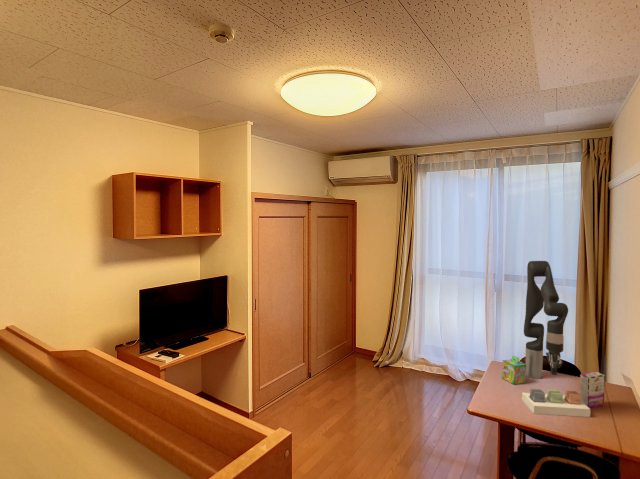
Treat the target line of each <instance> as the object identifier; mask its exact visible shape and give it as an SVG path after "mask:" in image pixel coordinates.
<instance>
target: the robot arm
mask: <svg viewBox="0 0 640 479" xmlns="http://www.w3.org/2000/svg"><path fill="white" fill-rule="evenodd" d="M526 270H527V271H526V273H527V274H526V275H527V276H526V278H527V279H526V280H527V287H526V297H525V298H526V299H525V316H524V321H523V322H524V324H523V335H524V336H525V337H526V338H531V339H534V340H531V341H527V342H526V343H525V359H524V360H525V362H524V363H525V364H526V377H528V378H531V379H542V378H543V369H544V368H543V367H544V366H543V363H544V362H543V361H544V339H545V349H546V350H547V352H545V355H546V358H547V362H548V364H549V365H550V374H551V375H553V376H557V375H558V369H560V368H561V367H562V365H563V364H564V361H563V360H562V359H561V353H563V352H564V344H565V341H564V339H565V336H564V326H565V322H566V319H567V317H568V313H569V307H568V305H567V304H566V303H564V302H559V300H560V297H559V294H558V291H557V289H556V286H555V282H554V277H553V272H552V269H551V265H550V263H549V262H548V261H547V260H531V261H529V262H528V263H527V267H526ZM536 277H537V278H538V277H541V278H542V277H545V278H544V281H543V283H542V285H541V287H540V288H539V286H538V285H537V283H536V281H535V278H536ZM542 310H543V313H544V314H545V315H546V316H549V317H557V318H554V319H550V320H548V321H547V322H546V324H547V325H546V338H544V336H545V326H544V324H542V323H538V322H532V321H533V319H534V318H535V316H536V315H538V314H539V313H540V312H541V311H542Z"/></svg>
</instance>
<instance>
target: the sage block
mask: <svg viewBox="0 0 640 479" xmlns="http://www.w3.org/2000/svg"><path fill="white" fill-rule="evenodd" d="M546 394H547V399H548V400H549V401H550V402H551V403H559V404H563V395H564V394H562V392H561V391H560V390H559V389H547V390H546Z"/></svg>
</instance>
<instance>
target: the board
mask: <svg viewBox="0 0 640 479" xmlns="http://www.w3.org/2000/svg"><path fill="white" fill-rule="evenodd" d="M521 400H522V402H523V403H524V404H525V405H526V407H527V408H528V409H529V410H530V411H531V412H532V413H533V414H535V415H550V416H551V415H552V416H565V417H566V416H570V417H582V418H583V417H585V418H591V408H588V407H587V406H586V405H585V404H584V403H582V402H581V405H576V404H569V403H568V402H567V401H565V394H563V404H559V403H551V402H550V401H549V400H548V399H547V393H545V403H542V402H533V401H532V400H531V399H530V392H521Z"/></svg>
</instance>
